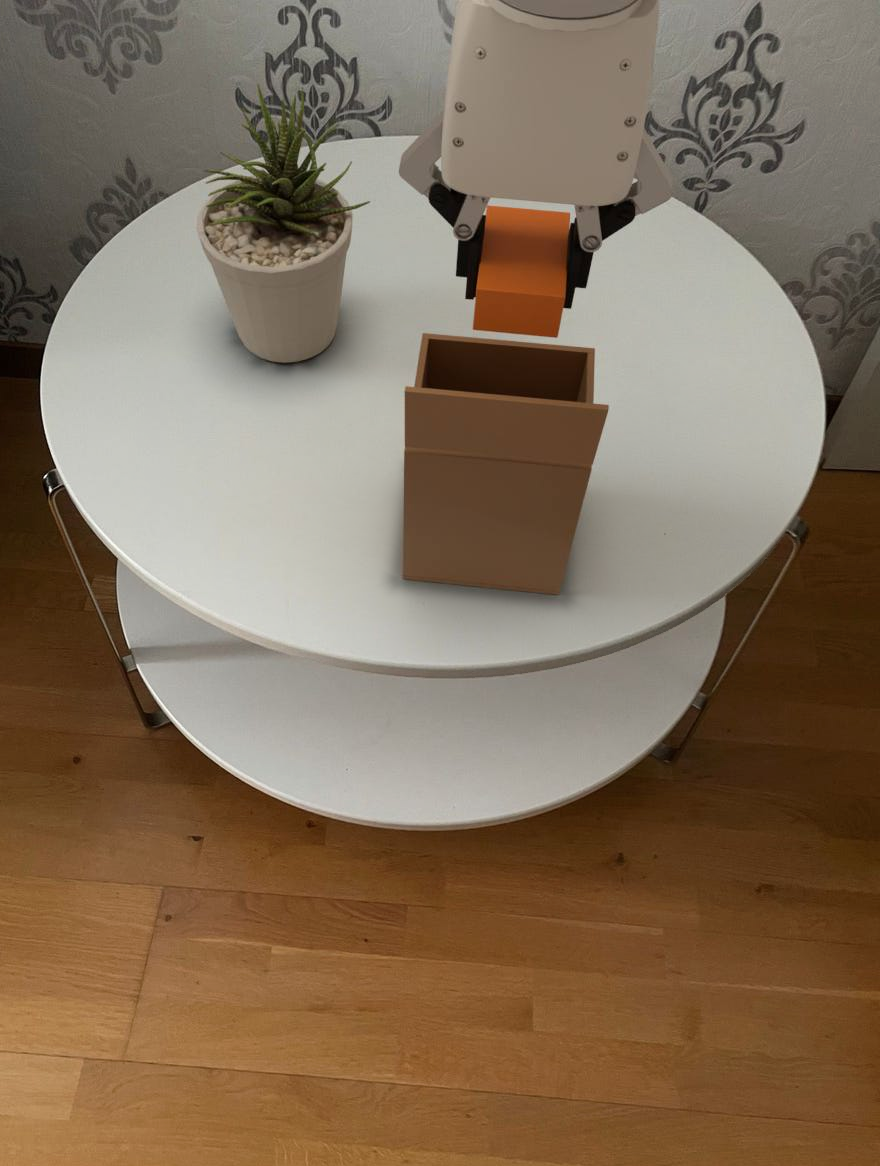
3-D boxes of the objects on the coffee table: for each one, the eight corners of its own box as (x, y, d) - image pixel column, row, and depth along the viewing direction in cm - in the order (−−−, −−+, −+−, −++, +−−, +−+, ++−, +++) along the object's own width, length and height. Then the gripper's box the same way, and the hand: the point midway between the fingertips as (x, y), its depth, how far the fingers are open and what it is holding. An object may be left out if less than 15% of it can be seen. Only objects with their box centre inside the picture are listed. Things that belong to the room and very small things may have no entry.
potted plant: (387, 360, 87) (385, 149, 70) (235, 394, 85) (195, 184, 68) (347, 271, 93) (337, 56, 76) (205, 300, 91) (161, 86, 74)
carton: (563, 483, 80) (595, 347, 68) (558, 595, 75) (591, 469, 62) (418, 469, 81) (422, 332, 68) (402, 579, 75) (404, 451, 63)
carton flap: (608, 404, 57) (608, 410, 57) (592, 459, 62) (592, 465, 62) (405, 385, 58) (404, 391, 57) (405, 442, 62) (404, 447, 62)
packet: (482, 247, 61) (486, 204, 59) (562, 254, 61) (570, 212, 59) (472, 330, 58) (476, 288, 55) (557, 338, 57) (565, 296, 55)
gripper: (755, -74, 45) (660, 260, 61) (387, -100, 46) (387, 236, 61) (766, 12, 41) (662, 345, 57) (363, -18, 42) (370, 318, 58)
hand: (519, 286), depth 59 cm, fingers closed on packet, 5 cm apart
